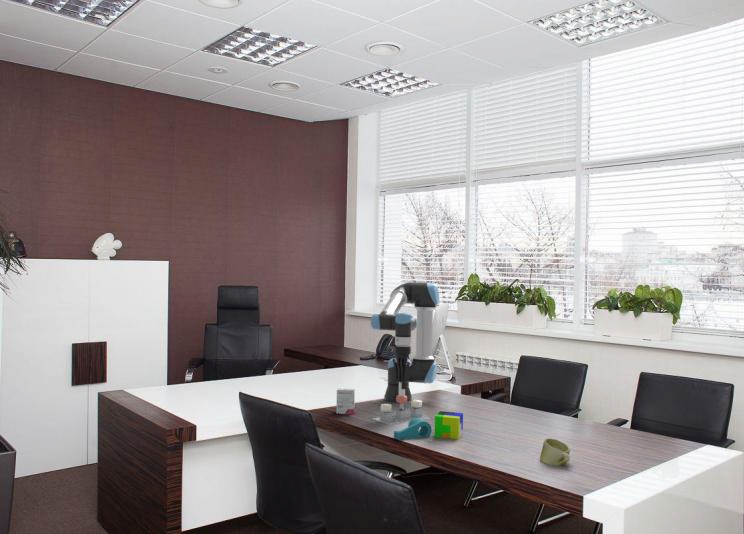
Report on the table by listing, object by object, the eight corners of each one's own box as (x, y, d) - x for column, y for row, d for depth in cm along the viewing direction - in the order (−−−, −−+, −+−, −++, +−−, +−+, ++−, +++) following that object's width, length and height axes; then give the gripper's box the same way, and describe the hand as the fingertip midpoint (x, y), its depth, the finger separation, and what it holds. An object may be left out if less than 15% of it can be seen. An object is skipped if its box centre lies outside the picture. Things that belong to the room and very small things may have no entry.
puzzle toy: (462, 436, 266) (463, 413, 266) (458, 442, 256) (458, 418, 256) (439, 434, 269) (440, 411, 269) (434, 439, 259) (434, 416, 260)
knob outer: (387, 417, 290) (387, 403, 290) (393, 419, 286) (393, 405, 286) (378, 418, 287) (378, 404, 287) (384, 421, 283) (384, 406, 283)
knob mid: (402, 408, 295) (402, 394, 295) (408, 410, 291) (409, 396, 291) (394, 409, 292) (394, 395, 292) (400, 411, 288) (400, 397, 288)
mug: (531, 451, 231) (545, 430, 228) (553, 462, 233) (568, 441, 230) (540, 470, 219) (555, 449, 217) (564, 482, 221) (579, 461, 218)
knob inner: (417, 413, 300) (417, 399, 300) (423, 415, 296) (423, 401, 296) (409, 414, 297) (409, 400, 297) (415, 416, 293) (415, 402, 293)
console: (412, 414, 304) (412, 404, 304) (429, 420, 293) (430, 409, 293) (372, 420, 290) (372, 409, 290) (388, 426, 279) (389, 415, 279)
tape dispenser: (431, 439, 260) (431, 420, 260) (398, 442, 255) (399, 423, 255) (424, 435, 267) (424, 417, 267) (392, 438, 261) (392, 419, 261)
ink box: (354, 412, 306) (355, 388, 306) (353, 414, 301) (354, 390, 301) (337, 411, 307) (338, 387, 307) (336, 413, 302) (336, 389, 302)
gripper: (388, 344, 295) (387, 394, 295) (405, 347, 284) (403, 399, 284) (400, 343, 299) (399, 392, 299) (417, 346, 288) (416, 397, 288)
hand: (401, 395), depth 292 cm, fingers closed, pressing on knob mid
